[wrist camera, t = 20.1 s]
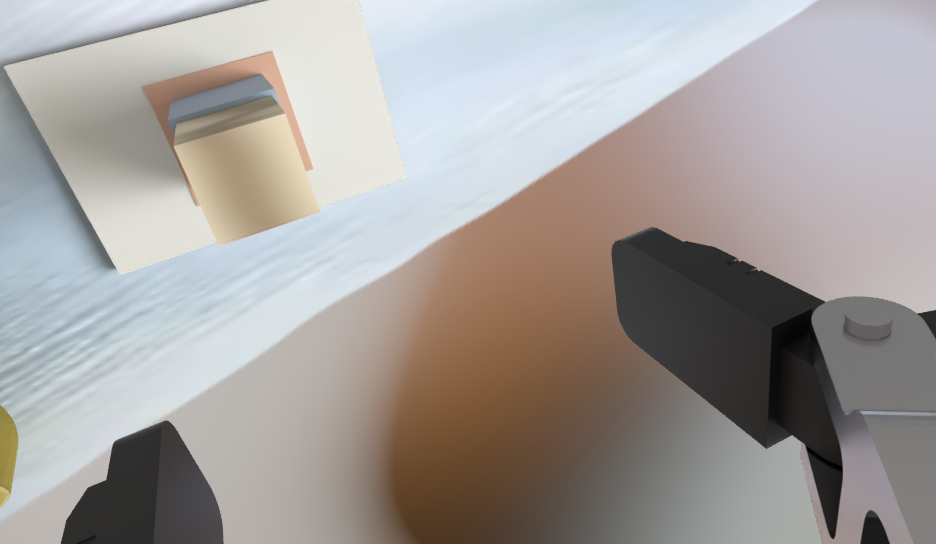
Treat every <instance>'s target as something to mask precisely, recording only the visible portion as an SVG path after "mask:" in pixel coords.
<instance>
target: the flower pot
mask: <svg viewBox="0 0 936 544" xmlns="http://www.w3.org/2000/svg"><path fill="white" fill-rule="evenodd" d="M17 448H18V433H17V429H16V426H15V424H14V422H13V420H12V418H11V417H10V415H9V414H8V413H7V412H6V410H5V409H4V408H3V407H1V406H0V508H1V507H2V506H3V505H4V504H5V502H6V501H7V500H8V499H9V497H10V494H11V488H12V482H13V475H14V469H15V462H16V455H17Z"/></svg>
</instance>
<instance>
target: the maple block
mask: <svg viewBox="0 0 936 544" xmlns="http://www.w3.org/2000/svg"><path fill="white" fill-rule="evenodd" d="M174 149H175V151H176V153H177V155H178V157H179V160H180V162H181V164H182V166H183V168H184V171H185V173H186V175H187V177H188V179H189V182H190V184H191V186H192V188H193V190H194V193H195V195H196V197H197V199H198V201H199V204H200V206H201V208H202V210H203V212H204V215H205V217H206V219H207V221H208V223H209V226H210V228H211V230H212V232H213V234H214V237H215V239H216V241H217V243H218V245H219V246H221V245H224V244H227V243H230V242H233V241H236V240H239V239H242V238H245V237H248V236H251V235H254V234H257V233H259V232H262V231H265V230H268V229H271V228H274V227H277V226H280V225H283V224H286V223H289V222H292V221H295V220H298V219H301V218H304V217H307V216H309V215H312V214H315V213H318V212H320V210H319V207H318V204H317V202H316V199H315V196H314V193H313V190H312V187H311V185H310V182H309V179H308V176H307V173H306V170H305V168H304V165H303V162H302V159H301V156H300V153H299V151H298V148H297V145H296V142H295V139H294V136H293V134H292V131H291V128H290V125H289V122H288V119H287V117H286V114H285V112H284V111H283V110H282V108H281V107H280V105H279V104H278V103H277V101H276V100H275V99H274V97H273V96H269V97H265V98H262V99H258V100H255V101H251V102H248V103H244V104H241V105H238V106H234V107H231V108H227V109H224V110H220V111H217V112H213V113H210V114H206V115H203V116H199V117H196V118H192V119H189V120H185V121H182V122H178V123H176V130H175V138H174Z"/></svg>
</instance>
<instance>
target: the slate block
mask: <svg viewBox="0 0 936 544" xmlns="http://www.w3.org/2000/svg"><path fill="white" fill-rule="evenodd" d="M269 96H273V97H274V99H275V100H276V101H277V103H278V104H279V105H280V103H279V100H278V98H277V95H276V92H275V90H274V88H273V86H272V85H271V84H270V83H269V82H268V80H267V79H266V78H265V77H264V75H263V74H260V75H256V76H253V77H249V78H246V79H242V80H239V81H236V82H232V83H229V84H225V85H222V86H219V87H215V88H212V89H208V90H205V91H202V92H198V93H195V94H191V95H188V96H185V97H181V98H178V99H174V100H171V105H170V110H169V116H168V122H169V124H170V126H171V129H172V131H173V133H174V135H175V130H176V123H178V122H182V121H185V120H189V119H192V118H196V117H199V116H203V115H206V114H210V113H213V112H217V111H220V110H224V109H227V108H231V107H234V106H238V105H241V104H244V103H248V102H251V101H255V100H258V99H262V98H265V97H269ZM280 107H281V106H280Z"/></svg>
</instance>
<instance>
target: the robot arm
mask: <svg viewBox="0 0 936 544" xmlns="http://www.w3.org/2000/svg"><path fill="white" fill-rule="evenodd" d="M612 264H613V273H614V282H615V293H616V302H617V311H618V316H619V320H620V322H621V324H622V327H623V329H624V330H625V332H626V334H627V335H628V337H629V338H630V339H631V340H632V341H633V342H634V343H635V344H637V345H638V346H639V347H640V348H641V349H643V350H644V351H645V352H646V353H648V354H649V355H650V356H651V357H653V358H654V359H655V360H656V361H658V362H659V363H660V364H661V365H663V366H664V367H665V368H666V369H668V370H669V371H670V372H671V373H673V374H674V375H675V376H676V377H678V378H679V379H680V380H681V381H683V382H684V383H685V384H686V385H688V386H689V387H690V388H691V389H693V390H694V391H695V392H696V393H698V394H699V395H700V396H701V397H703V398H704V399H705V400H706V401H708V402H709V403H710V404H711V405H713V406H714V407H715V408H716V409H718V410H719V411H720V412H721V413H723V414H724V415H725V416H726V417H727V418H729V419H730V420H731V421H733V422H734V423H735V424H736V425H737V426H739V427H740V428H741V429H742V430H744V431H745V432H746V433H747V434H749V435H750V436H751V437H752V438H754V439H755V440H756V441H757V442H759V443H760V444H761V445H762V446H764V447H765V448H766V449H767V448H769V447H771V446H772V445H774V444H776V443H778V442H780V441H782V440H784V439H785V438H788V437H789V436H791V435H793V436H794V437H796V438H797V439H798V440H800V441H801V453H800V455H801V461H802V465H803V469H804V473H805V477H806V481H807V485H808V489H809V493H810V497H811V501H812V505H813V509H814V513H815V517H816V521H817V525H818V528H819V532H820V537H821V540H822V544H936V310H934V311H929V312H923V313H918V314H917V313H915V312H914V311H912V310H911V309H909V308H907V307H905V306H903V305H900V304H897V303H895V302H892V301H888V300H884V299H879V298H872V297H844V298H838V299H834V300H831V301H828V302H825V301H823V300H821V299H819V298H816V297H814V296H812V295H810V294H808V293H806V292H804V291H802V290H800V289H798V288H796V287H794V286H792V285H790V284H788V283H786V282H784V281H782V280H780V279H778V278H776V277H774V276H772V275H770V274H768V273H766V272H764V271H762V270H761V271H757V268H756V267H754V266H752V265H750V264H748V263H746V262H744V261H741V262H739V261H738V258H736V257H734V256H732V255H729V254H728V253H725V252H723V251H721V250H720V249H717V248H715V247H712V246H707V245H702V244H697V243H692V242H688V241H685V242H683V241H681V240H679V239H677V238H674V237H673V236H671V235H669V234H667V233H665V232H663V231H661V230H659V229H657V228H653V227H651V228H647V229H645V230H643V231H640V232H638V233H635V234H633V235H630V236H628V237H625V238H623V239H620V240H618V241H616V242H615V243H614V244H613V246H612ZM61 544H223V526H222V519H221V515H220V510H219V507H218V504H217V501H216V499H215V496H214V494H213V492H212V489H211V487H210V486H209V484H208V482H207V481H206V479H205V477H204V476H203V474H202V472H201V470H200V469H199V467H198V465H197V464H196V462H195V460H194V459H193V457H192V455H191V454H190V452H189V450H188V449H187V447H186V445H185V444H184V442H183V440H182V439H181V437H180V435H179V433H178V432H177V430H176V429H175V427H174V426H173V425H172V424H171V423H170V422H169V421H163V422H161V423H158V424H156V425H153V426H151V427H148V428H146V429H143V430H141V431H138V432H136V433H133V434H131V435H128V436H126V437H123V438H121V439H118V440H116V441H115V442H114V444H113V447H112V452H111V457H110V463H109V469H108V474H107V480H105V481H103V482H100V483H98V484H96V485H93V486H91V487H89V488H87V490H86V491H85V493H84V494H83V496H82V497H81V499H80V501H79V502H78V503H77V505H76V506H75V508H74V510H73V511H72V513H71V514H70V516H69V517H68V519H67V520H66V524H65V529H64V533H63V537H62V541H61Z"/></svg>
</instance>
